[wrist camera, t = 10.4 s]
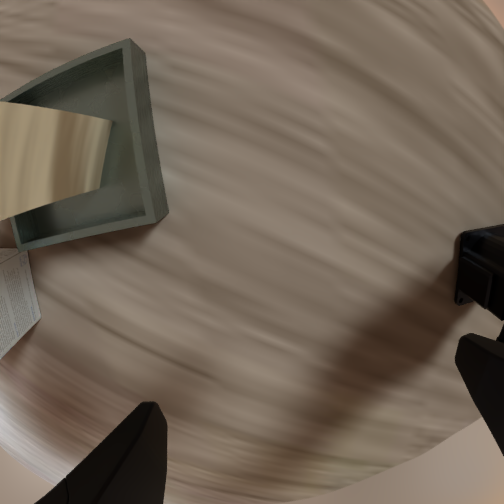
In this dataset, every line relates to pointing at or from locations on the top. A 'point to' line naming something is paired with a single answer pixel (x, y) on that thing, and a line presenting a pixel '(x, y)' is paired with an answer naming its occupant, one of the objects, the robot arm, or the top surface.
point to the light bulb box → (16, 298)
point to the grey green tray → (117, 152)
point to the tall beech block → (48, 156)
